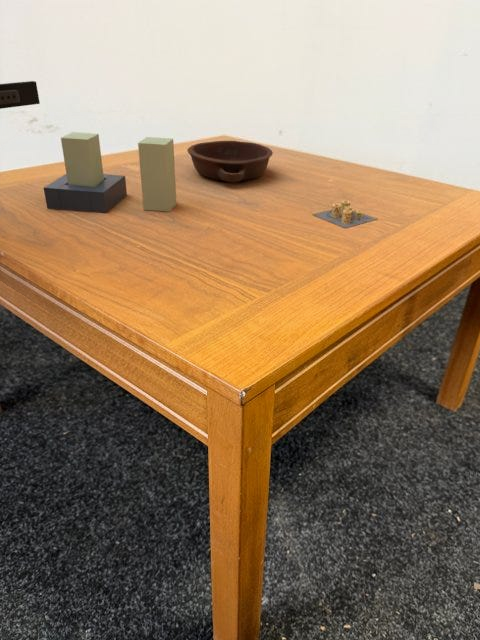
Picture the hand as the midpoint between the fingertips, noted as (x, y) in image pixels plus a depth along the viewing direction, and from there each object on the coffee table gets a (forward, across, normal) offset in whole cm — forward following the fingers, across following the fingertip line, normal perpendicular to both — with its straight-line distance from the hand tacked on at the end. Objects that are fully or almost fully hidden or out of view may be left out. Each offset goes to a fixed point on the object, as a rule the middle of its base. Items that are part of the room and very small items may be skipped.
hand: (7, 86), depth 77 cm
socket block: (+12, -2, -20) cm, 23 cm away
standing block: (+19, +9, -20) cm, 29 cm away
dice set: (+36, +36, -20) cm, 55 cm away
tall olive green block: (+12, -2, -20) cm, 23 cm away
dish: (+44, +4, -20) cm, 48 cm away
